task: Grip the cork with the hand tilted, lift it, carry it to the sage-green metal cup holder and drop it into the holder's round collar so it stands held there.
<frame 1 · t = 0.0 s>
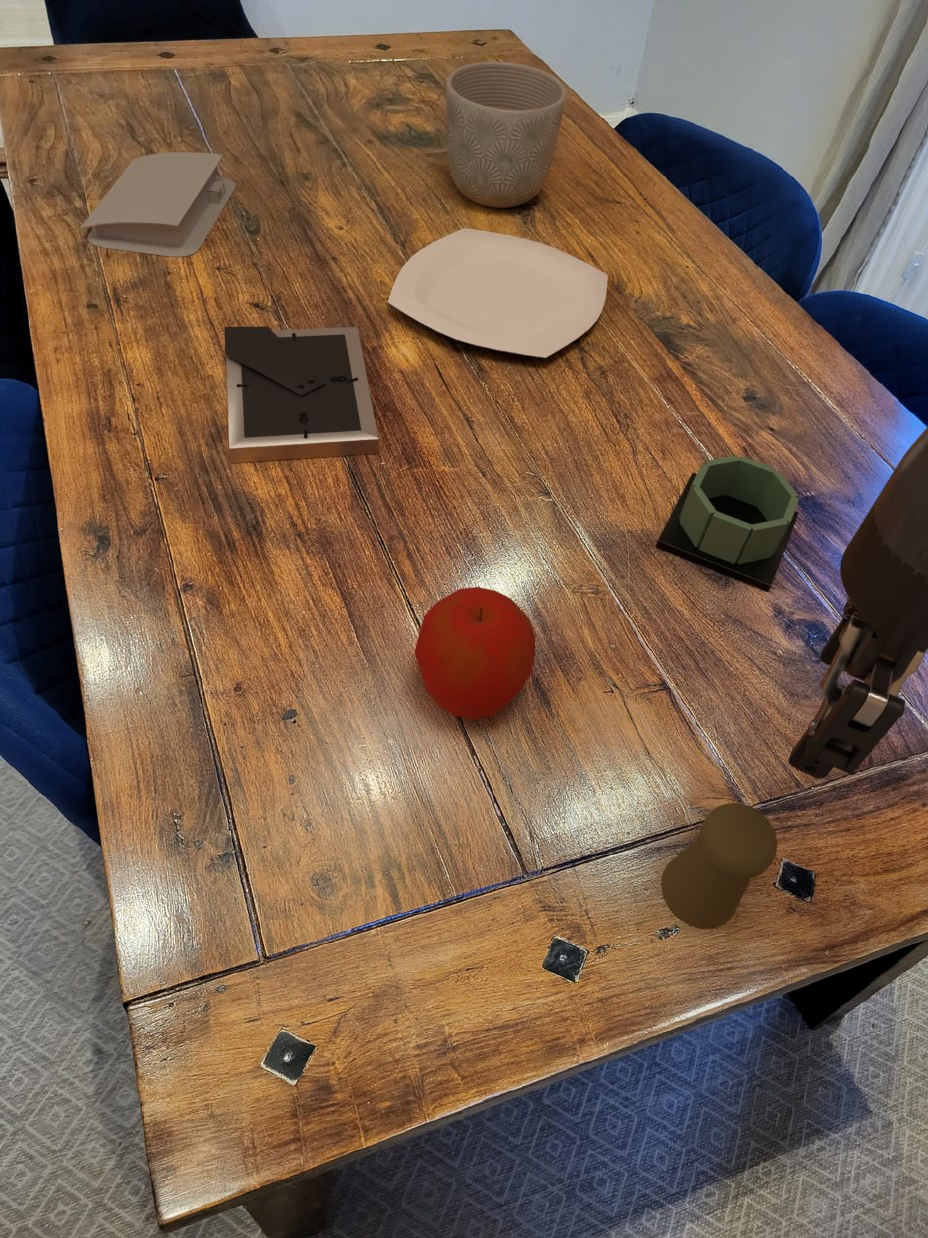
hand: (821, 712, 53), 21 cm above the table, tool pointing down, fingers open, 8 cm apart
face-down photo frame: (299, 399, 101), on the table
cork: (698, 891, 68), on the table
cup holder: (727, 532, 92), on the table
plate: (499, 301, 116), on the table
apple: (469, 688, 78), on the table
planter: (495, 194, 134), on the table
book: (165, 211, 124), on the table
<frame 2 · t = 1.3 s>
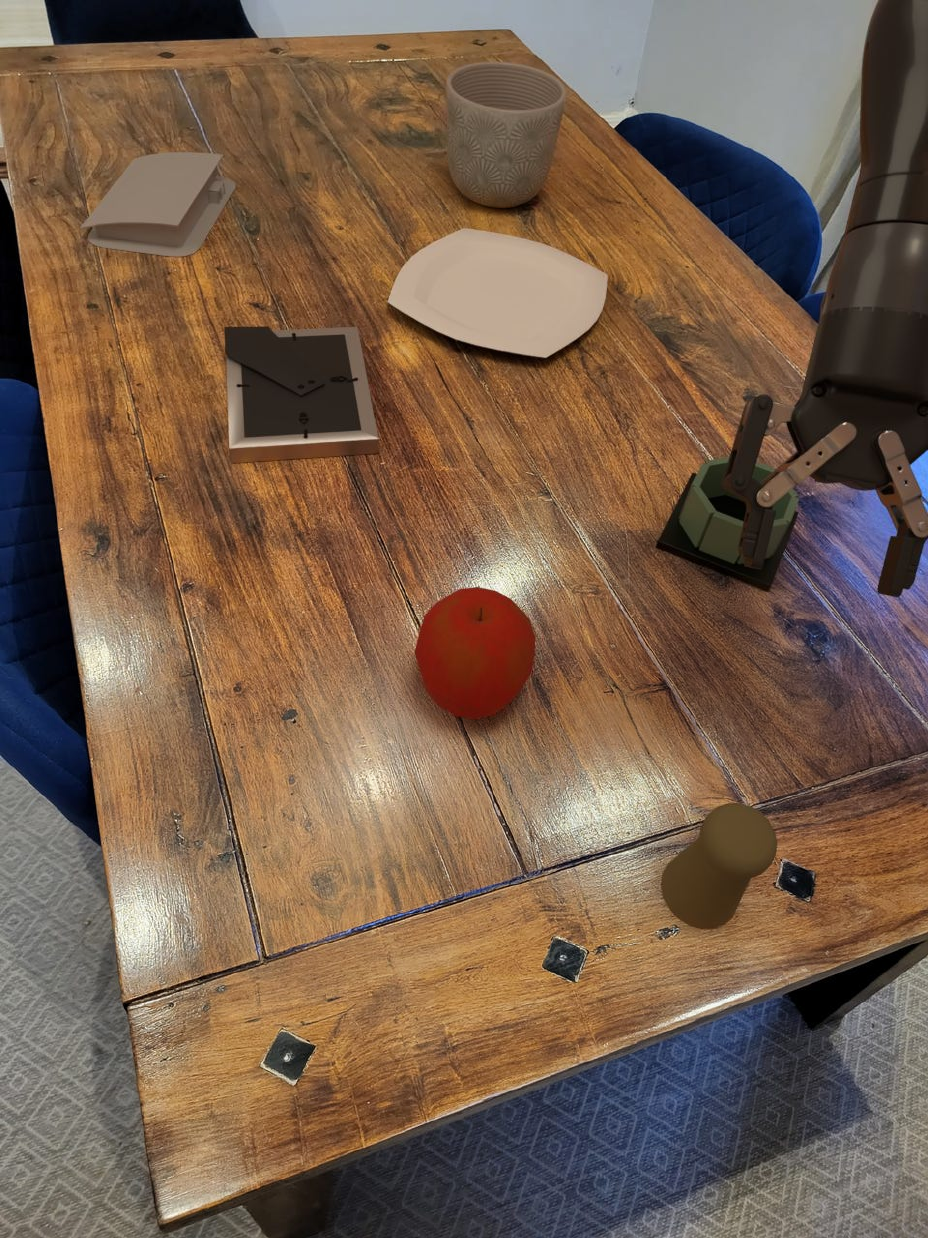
hand: (820, 581, 55), 25 cm above the table, tool tilted 45°, fingers open, 8 cm apart
nothing on the table moved.
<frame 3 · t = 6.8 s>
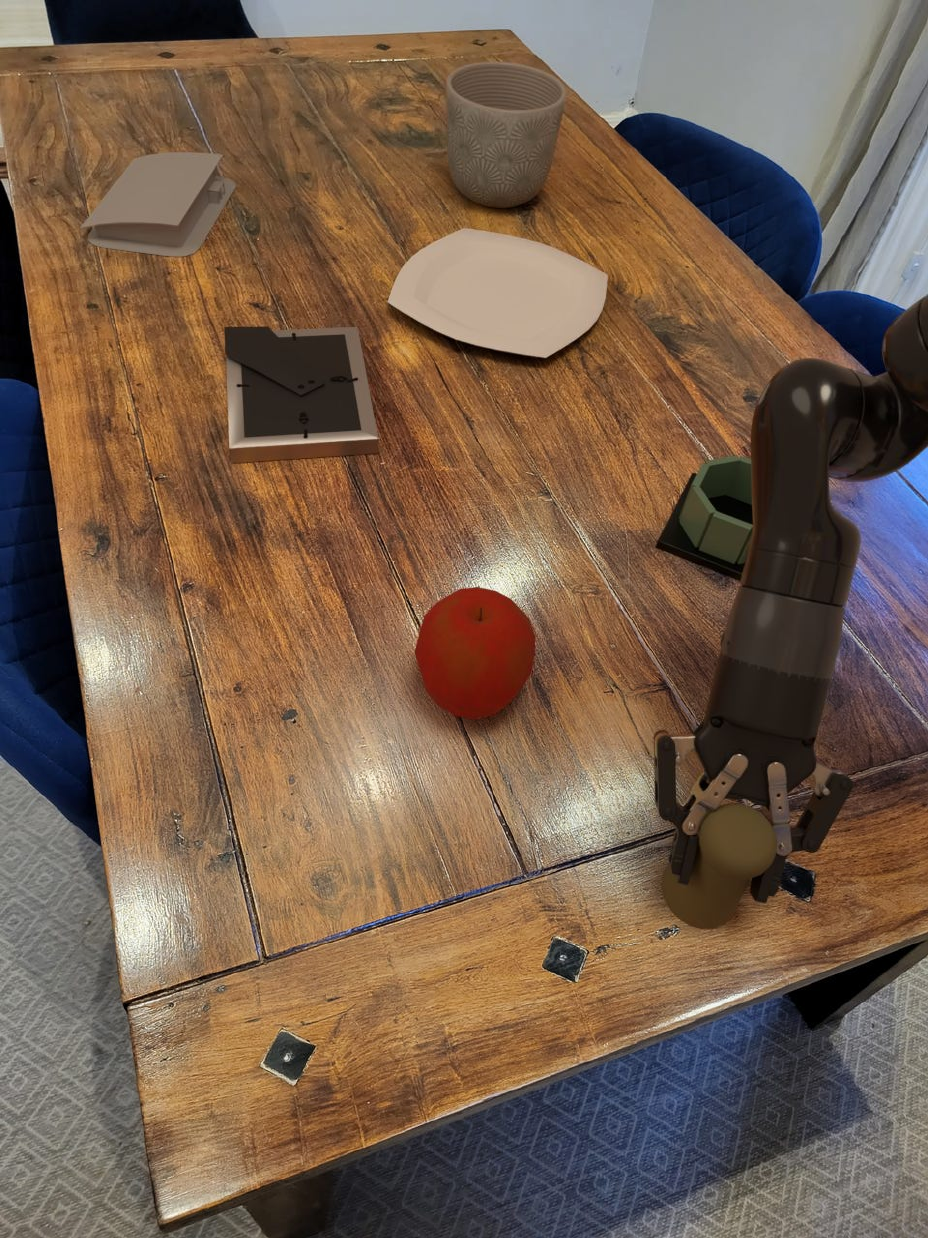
hand: (719, 888, 63), 5 cm above the table, tool tilted 45°, fingers closed on cork, 5 cm apart
cork: (699, 891, 68), on the table, touching gripper
everything else where it was.
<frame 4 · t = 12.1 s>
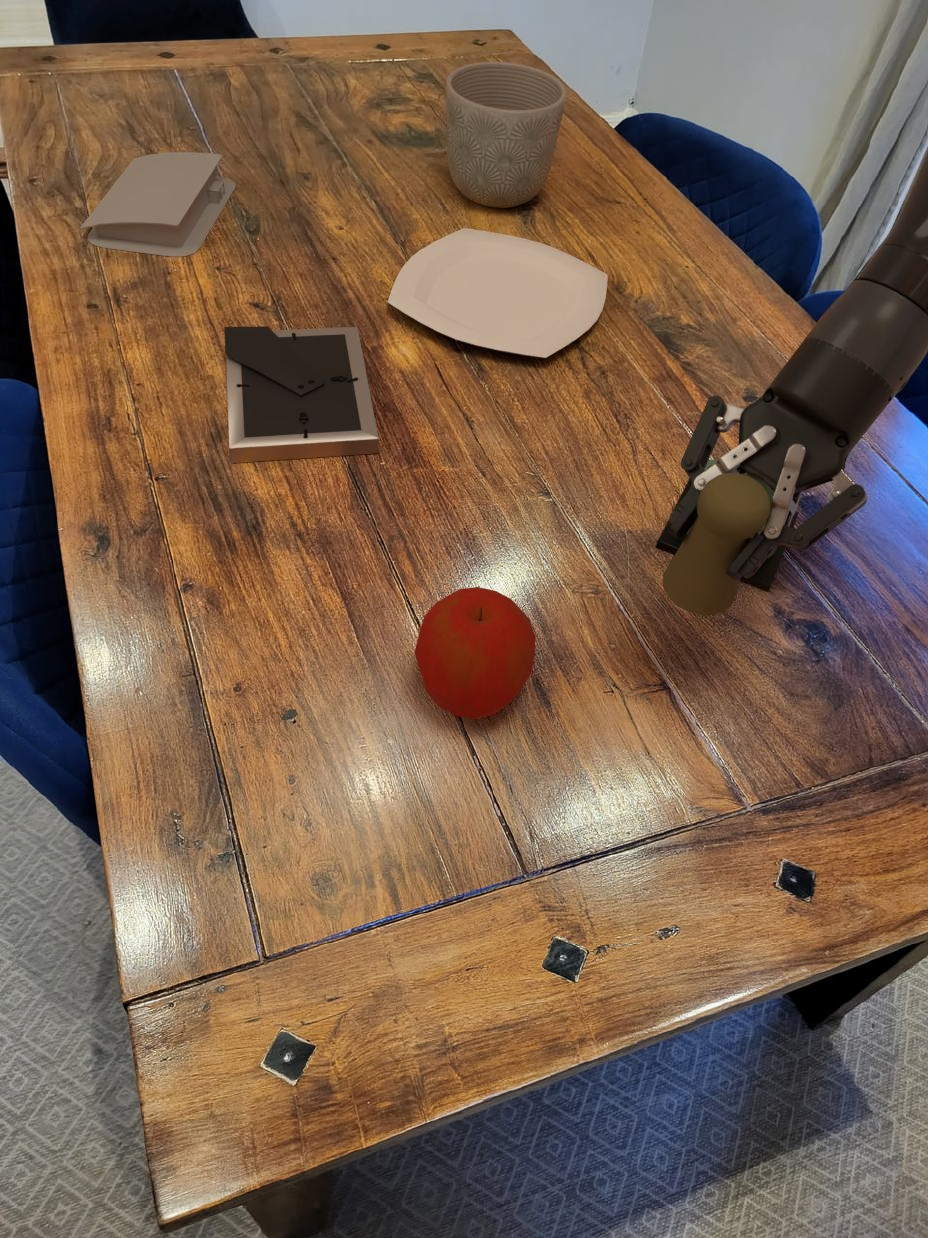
hand: (703, 555, 67), 17 cm above the table, tool tilted 45°, fingers closed on cork, 5 cm apart
cork: (698, 587, 72), point 11 cm above the table, touching gripper
everything else where it was.
when the fingers open (8 cm above the table, at t = 17.6 s): cork drops 2 cm, resting on cup holder.
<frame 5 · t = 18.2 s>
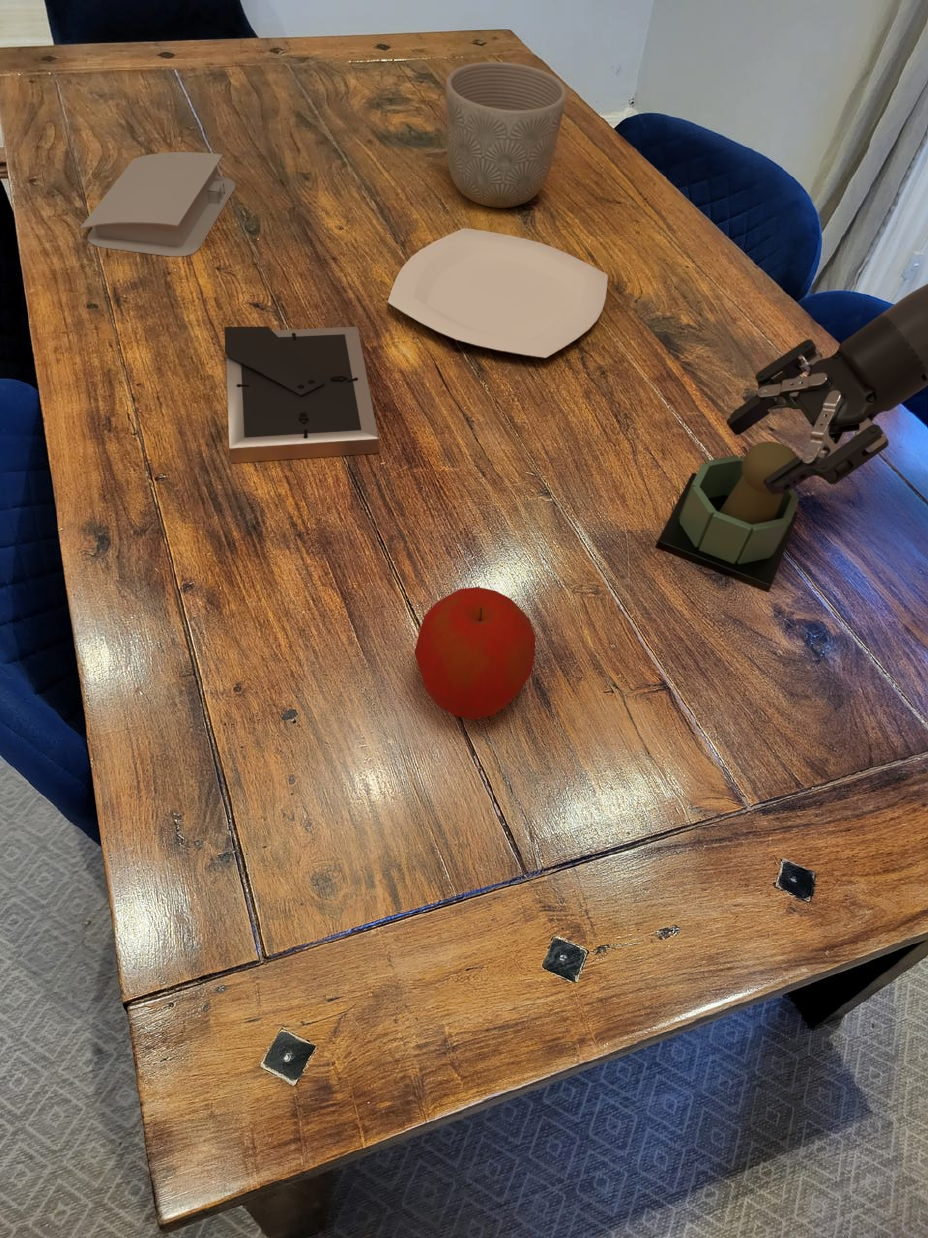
hand: (749, 458, 84), 11 cm above the table, tool tilted 45°, fingers open, 8 cm apart
cork: (739, 535, 91), point 1 cm above the table, touching cup holder
everything else where it was.
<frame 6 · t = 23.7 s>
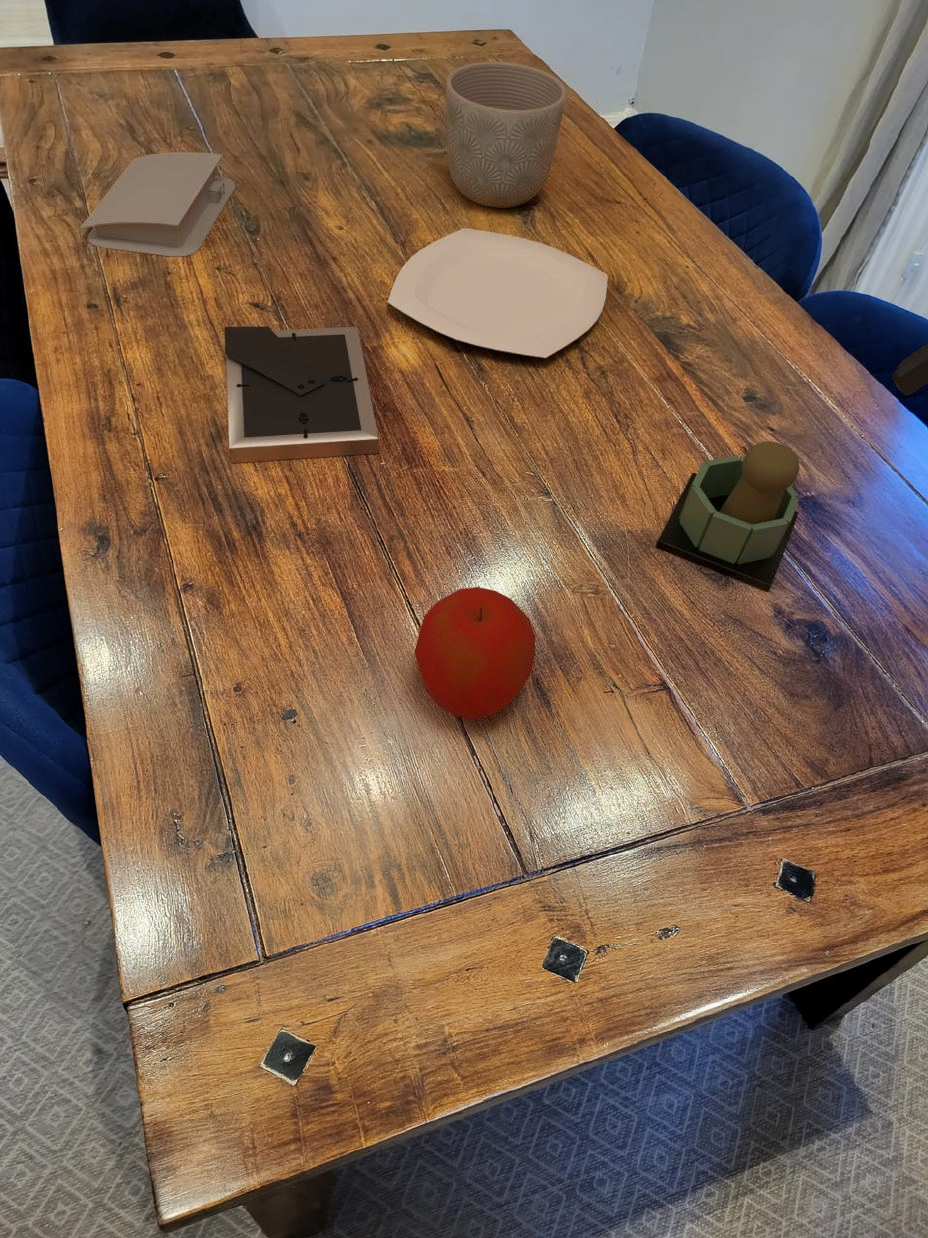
nothing on the table moved.
at the end: cork 1.3 cm off-centre on the cup holder, point 0.8 cm above the cup holder's base; cork tilted 0°; the gripper is holding nothing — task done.
